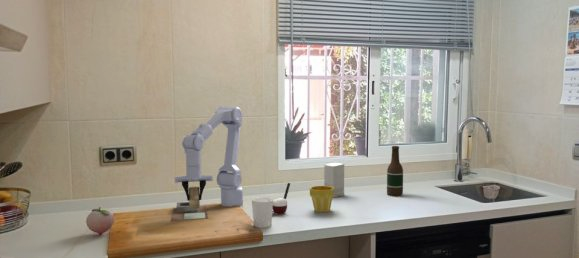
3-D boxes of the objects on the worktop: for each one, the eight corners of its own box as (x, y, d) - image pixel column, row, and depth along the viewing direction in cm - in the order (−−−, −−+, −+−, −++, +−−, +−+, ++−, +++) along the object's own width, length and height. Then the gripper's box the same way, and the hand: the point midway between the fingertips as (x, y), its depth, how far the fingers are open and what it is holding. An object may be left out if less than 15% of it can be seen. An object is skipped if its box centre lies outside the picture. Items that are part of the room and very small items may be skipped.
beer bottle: (404, 196, 216) (405, 147, 214) (388, 196, 216) (389, 147, 215) (401, 193, 224) (401, 145, 222) (385, 193, 224) (385, 145, 222)
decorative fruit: (80, 236, 158) (79, 208, 157) (98, 230, 165) (97, 203, 164) (101, 239, 154) (100, 211, 154) (118, 232, 162) (117, 205, 161)
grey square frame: (197, 207, 192) (197, 201, 192) (197, 212, 184) (197, 206, 184) (177, 208, 191) (176, 202, 190) (176, 213, 182) (176, 207, 182)
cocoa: (271, 216, 184) (269, 187, 183) (268, 212, 190) (267, 184, 189) (293, 214, 186) (292, 185, 185) (290, 209, 192) (289, 182, 191)
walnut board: (206, 209, 195) (206, 205, 194) (208, 222, 174) (208, 218, 174) (172, 211, 192) (172, 207, 192) (170, 225, 171) (170, 221, 171)
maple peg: (199, 206, 180) (198, 186, 179) (200, 208, 176) (199, 188, 176) (189, 206, 179) (188, 187, 178) (189, 209, 175) (189, 189, 175)
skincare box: (335, 193, 225) (335, 162, 224) (345, 195, 220) (345, 163, 219) (323, 195, 219) (323, 164, 218) (333, 197, 215) (333, 165, 213)
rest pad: (204, 213, 183) (204, 212, 183) (205, 218, 175) (205, 217, 175) (184, 214, 181) (184, 213, 181) (184, 219, 173) (184, 218, 173)
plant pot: (304, 210, 191) (304, 188, 191) (320, 206, 199) (320, 184, 198) (323, 215, 184) (323, 191, 184) (339, 210, 192) (339, 187, 191)
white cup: (257, 229, 165) (256, 202, 164) (248, 224, 172) (248, 198, 171) (276, 226, 168) (276, 200, 168) (267, 221, 175) (267, 196, 175)
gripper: (174, 167, 171) (175, 203, 172) (212, 166, 174) (213, 201, 175) (174, 165, 178) (175, 199, 179) (212, 163, 181) (212, 197, 182)
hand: (194, 199), depth 177 cm, fingers closed on maple peg, 4 cm apart
